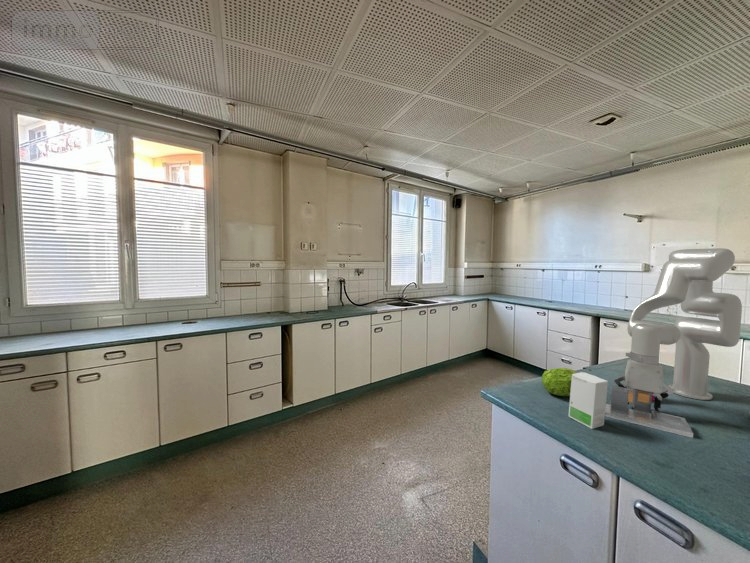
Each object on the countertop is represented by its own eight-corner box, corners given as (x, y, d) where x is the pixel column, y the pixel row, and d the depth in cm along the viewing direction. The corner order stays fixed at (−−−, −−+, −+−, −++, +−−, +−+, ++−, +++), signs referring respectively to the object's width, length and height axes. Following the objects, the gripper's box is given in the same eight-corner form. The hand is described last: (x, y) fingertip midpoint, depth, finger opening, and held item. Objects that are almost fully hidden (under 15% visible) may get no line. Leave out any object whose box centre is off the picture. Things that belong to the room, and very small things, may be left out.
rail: (601, 406, 109) (603, 382, 109) (686, 426, 96) (688, 398, 96) (602, 415, 103) (603, 389, 102) (692, 437, 90) (695, 408, 89)
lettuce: (602, 379, 122) (576, 355, 130) (577, 390, 108) (549, 362, 117) (581, 395, 128) (557, 371, 137) (555, 407, 115) (530, 380, 123)
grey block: (632, 406, 109) (633, 385, 109) (648, 410, 107) (649, 388, 106) (634, 412, 105) (635, 391, 104) (650, 416, 102) (652, 394, 102)
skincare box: (567, 417, 102) (569, 373, 101) (580, 413, 104) (582, 371, 103) (593, 430, 94) (595, 383, 93) (606, 425, 96) (608, 379, 95)
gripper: (614, 356, 107) (611, 403, 108) (681, 366, 97) (677, 418, 98) (612, 351, 113) (610, 395, 114) (676, 360, 103) (672, 409, 104)
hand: (641, 405), depth 106 cm, fingers open, 7 cm apart
